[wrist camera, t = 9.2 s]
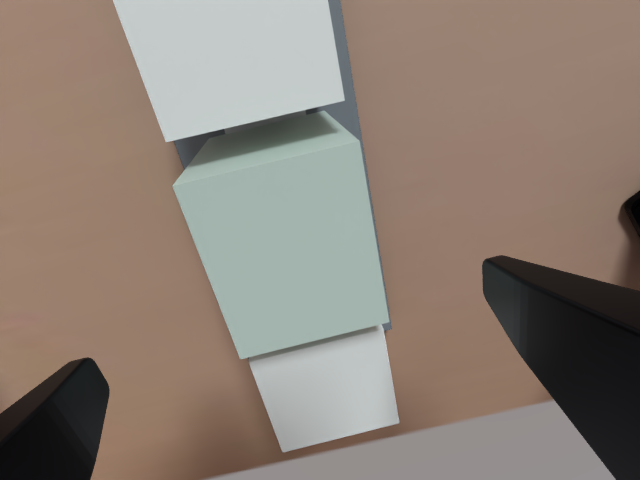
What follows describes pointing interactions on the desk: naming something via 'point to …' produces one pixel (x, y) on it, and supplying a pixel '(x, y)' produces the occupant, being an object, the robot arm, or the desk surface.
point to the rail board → (252, 111)
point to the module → (285, 232)
